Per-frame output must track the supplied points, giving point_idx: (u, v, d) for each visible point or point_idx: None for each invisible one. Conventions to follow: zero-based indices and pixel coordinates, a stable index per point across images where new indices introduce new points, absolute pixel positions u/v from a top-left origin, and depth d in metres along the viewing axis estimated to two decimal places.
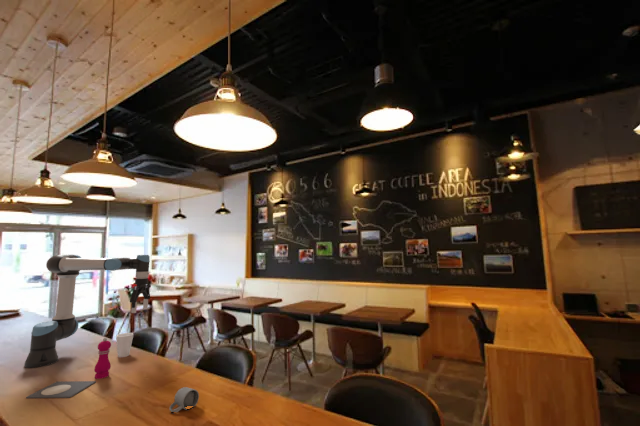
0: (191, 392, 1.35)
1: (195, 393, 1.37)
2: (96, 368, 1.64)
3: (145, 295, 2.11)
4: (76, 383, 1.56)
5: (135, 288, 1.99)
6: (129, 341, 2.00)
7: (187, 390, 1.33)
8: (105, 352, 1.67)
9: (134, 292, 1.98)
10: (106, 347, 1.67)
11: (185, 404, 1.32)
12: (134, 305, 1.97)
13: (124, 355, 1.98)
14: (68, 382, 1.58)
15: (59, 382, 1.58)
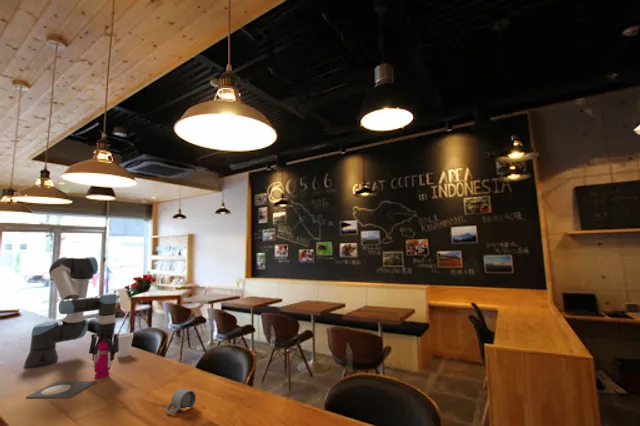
0: (188, 393, 1.34)
1: (192, 394, 1.35)
2: (96, 368, 1.64)
3: None
4: (76, 383, 1.56)
5: None
6: (129, 341, 2.00)
7: (184, 391, 1.32)
8: (105, 352, 1.67)
9: None
10: (106, 347, 1.67)
11: (182, 405, 1.31)
12: (94, 358, 1.67)
13: (124, 355, 1.98)
14: (68, 382, 1.58)
15: (59, 382, 1.58)
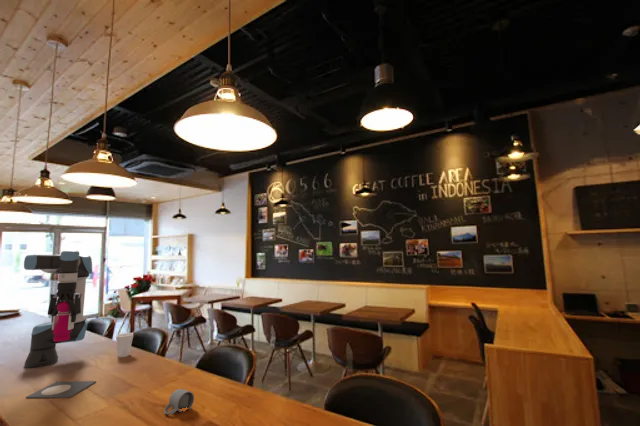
0: (186, 394, 1.33)
1: (190, 395, 1.35)
2: (55, 330, 1.50)
3: None
4: (76, 383, 1.56)
5: None
6: (129, 341, 2.00)
7: (182, 392, 1.32)
8: (65, 313, 1.52)
9: None
10: (66, 308, 1.52)
11: (180, 406, 1.30)
12: (53, 320, 1.53)
13: (124, 355, 1.98)
14: (68, 382, 1.58)
15: (59, 382, 1.58)
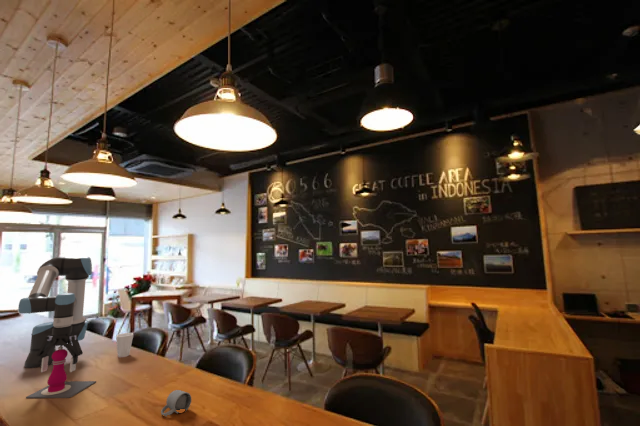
0: (183, 395, 1.32)
1: (188, 396, 1.34)
2: (49, 380, 1.47)
3: None
4: (76, 383, 1.56)
5: None
6: (129, 341, 2.00)
7: (179, 393, 1.31)
8: (60, 362, 1.49)
9: None
10: (61, 357, 1.49)
11: (177, 407, 1.29)
12: (42, 362, 1.50)
13: (124, 355, 1.98)
14: (68, 382, 1.58)
15: None
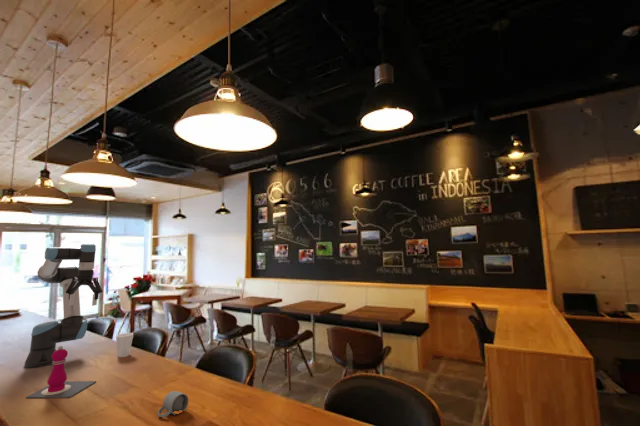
0: (180, 396, 1.31)
1: (185, 397, 1.33)
2: (49, 380, 1.47)
3: None
4: (76, 383, 1.56)
5: None
6: (129, 341, 2.00)
7: (176, 394, 1.30)
8: (60, 362, 1.49)
9: None
10: (61, 357, 1.49)
11: (174, 409, 1.28)
12: (70, 297, 1.86)
13: (124, 355, 1.98)
14: (68, 382, 1.58)
15: None
